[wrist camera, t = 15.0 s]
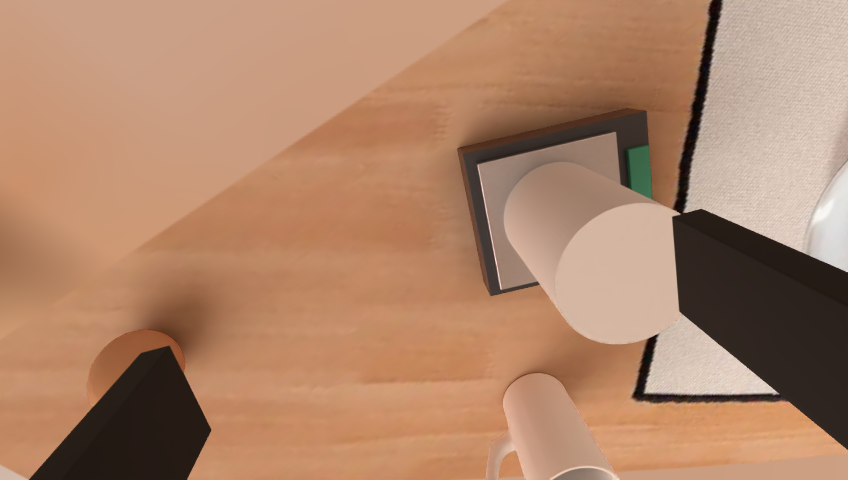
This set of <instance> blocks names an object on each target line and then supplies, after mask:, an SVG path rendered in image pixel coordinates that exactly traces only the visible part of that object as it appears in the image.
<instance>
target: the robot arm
mask: <svg viewBox="0 0 848 480" xmlns="http://www.w3.org/2000/svg"><path fill="white" fill-rule="evenodd" d="M672 225H673V238H674V251H675V264H676V277H677V290H678V303H679V312H681V313H682V314H683V315H684V316H685V317H687V318H688V319H689V320H690V321H692V322H693V323H694V324H695V325H696V326H698V327H699V328H700V329H701V330H702V331H704V332H705V333H706V334H707V335H709V336H710V337H711V338H712V339H713V340H715V341H716V342H717V343H718V344H719V345H721V346H722V347H723V348H724V349H726V350H727V351H728V352H729V353H730V354H732V355H733V356H734V357H735V358H737V359H738V360H739V361H740V362H741V363H743V364H744V365H745V366H746V367H747V368H749V369H750V370H751V371H752V372H754V373H755V374H756V375H757V376H758V377H760V378H761V379H762V380H763V381H765V382H766V383H767V384H768V385H769V386H771V387H772V388H773V389H774V390H775V391H777V392H778V393H779V394H780V395H782V396H783V397H784V398H785V399H786V400H788V401H789V402H790V403H791V404H793V405H794V406H795V407H796V408H797V409H799V410H800V411H801V412H802V413H803V414H805V415H806V416H807V417H808V418H810V419H811V420H812V421H813V422H814V423H816V424H817V425H818V426H819V427H821V428H822V429H823V430H824V431H825V432H827V433H828V434H829V435H830V436H831V437H833V438H834V439H835V440H836V441H838V442H839V443H840V444H841V445H842V446H844V447H845V448H846V449H847V450H848V272H845V271H843V270H841V269H839V268H836V267H834V266H832V265H829V264H827V263H825V262H822V261H820V260H818V259H816V258H813V257H811V256H809V255H806V254H804V253H802V252H800V251H797V250H795V249H793V248H790V247H788V246H786V245H783V244H781V243H779V242H777V241H774V240H772V239H770V238H767V237H765V236H763V235H760V234H758V233H756V232H754V231H751V230H749V229H747V228H744V227H742V226H740V225H738V224H735V223H733V222H731V221H728V220H726V219H724V218H721V217H719V216H717V215H715V214H712V213H710V212H708V211H705V210H703V209H699V210H695V211H691V212H688V213H684V214H680V215H676V216H672ZM210 432H211V428H210V426H209V424H208V422H207V420H206V418H205V416H204V414H203V412H202V410H201V408H200V406H199V404H198V402H197V400H196V398H195V396H194V394H193V392H192V390H191V388H190V386H189V384H188V381H187V379H186V377H185V375H184V373H183V371H182V369H181V367H180V365H179V363H178V361H177V359H176V357H175V355H174V353H173V351H172V349H171V347H170V345H169V346H165V347H161V348H158V349H154V350H150V351H146V352H142V353H140V354H139V356H138V357H137V358H136V359H135V360H134V361H133V362H132V363H131V365H130V366H129V367H128V368H127V369H126V370H125V371H124V373H123V374H122V375H121V376H120V377H119V378H118V379H117V380H116V382H115V383H114V384H113V385H112V386H111V387H110V388H109V390H108V391H107V392H106V393H105V394H104V395H103V396H102V397H101V399H100V400H99V401H98V402H97V403H96V404H95V405H94V407H93V408H92V409H91V410H90V411H89V412H88V413H87V414H86V416H85V417H84V418H83V419H82V420H81V421H80V422H79V424H78V425H77V426H76V427H75V428H74V429H73V430H72V431H71V433H70V434H69V435H68V436H67V437H66V438H65V439H64V441H63V442H62V443H61V444H60V445H59V446H58V447H57V449H56V450H55V451H54V452H53V453H52V454H51V455H50V456H49V458H48V459H47V460H46V461H45V462H44V463H43V464H42V466H41V467H40V468H39V469H38V470H37V471H36V472H35V473H34V475H33V476H32V477H31V478H30V479H29V480H187V478H188V476H189V474H190V472H191V470H192V468H193V466H194V464H195V462H196V460H197V458H198V456H199V454H200V452H201V450H202V448H203V446H204V444H205V442H206V440H207V438H208V436H209V434H210Z"/></svg>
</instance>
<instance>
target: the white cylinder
mask: <svg viewBox="0 0 848 480" xmlns="http://www.w3.org/2000/svg"><path fill="white" fill-rule="evenodd" d="M676 215H680V214H679V213H678V212H676V211H674V210H672V209H670V208H668V207H666V206H664V205H662V204H660V203H658V202H656V201H654V200H651V199H649V198H647V197H645V196H643V195H641V194H639V193H637V192H635V191H633V190H631V189H629V188H627V187H624V186H622V185H620V184H618V183H616V182H614V181H612V180H610V179H608V178H606V177H604V176H602V175H600V174H597V173H595V172H593V171H591V170H589V169H587V168H585V167H583V166H581V165H578V164H575V163H570V162H554V163H549V164H545V165H542V166H540V167H538V168H536V169H534V170H532V171H530V172H529V173H528V174H526V175H525V176H524V177H523V178H522V179H521V180H520V181H519V182H518V183H517V184H516V185H515V187H514V188H513V190H512V191H511V193H510V195H509V197H508V199H507V202H506V205H505V210H504V227H505V232H506V235H507V237H508V239H509V241H510V243H511V245H512V246H513V247H514V249H515V250H516V252H517V253H518V254H519V256H520V257H521V259H522V260H523V261H524V263H525V264H526V266H527V267H528V268H529V270H530V271H531V273H532V274H533V275H534V277H535V278H536V279H537V281H538V282H539V284H540V285H541V286H542V288H543V289H544V291H545V292H546V293H547V295H548V296H549V298H550V299H551V300H552V302H553V303H554V305H555V306H556V307H557V309H558V310H559V311H560V313H561V314H562V316H563V317H564V318H565V320H566V321H567V322H568V324H569V325H570V326H571V327H572V328H573V329H574V330H576V331H577V332H578V333H580V334H581V335H583V336H585V337H587V338H589V339H591V340H594V341H597V342H601V343H606V344H628V343H634V342H638V341H642V340H645V339H647V338H650V337H652V336H654V335H656V334H658V333H660V332H662V331H663V330H665V329H666V328H668V327H669V326H671V325H672V324H673V323H674V322H675V321H677V320H678V319H679V318H680V317H681V316H682V315H683V314H682V313H681V312H679V303H678V290H677V277H676V264H675V251H674V238H673V225H672V216H676Z"/></svg>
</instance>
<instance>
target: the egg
mask: <svg viewBox="0 0 848 480" xmlns="http://www.w3.org/2000/svg"><path fill="white" fill-rule="evenodd" d="M169 345H170V347H171V349H172V351H173V353H174V355H175V357H176V359H177V361H178V363H179V365H180V367H181V369H182V371H183V373H184V370H185V359H184V356H183V353H182V350H181V348H180V347H179V345H178V344H177V342H176V341H174V340H173V339H172V338H171V337H170V336H168V335H166V334H164V333H161V332H159V331H153V330H138V331H133V332H130V333H126V334H124V335H122V336H120V337H118V338H116V339H115V340H113V341H112V342H111V343H109V344H108V345H107V346H106V347H105V348H104V349H103V350H102V351H101V352H100V354H99V355H98V356H97V357H96V359H95V360H94V362H93V364H92V366H91V368H90V371H89V375H88V381H87V395H88V398H89V402H90V404H91V406H92V407H94V405H95V404H96V403H97V402H98V401H99V400H100V399H101V397H102V396H103V395H104V394H105V393H106V392H107V391H108V390H109V388H110V387H111V386H112V385H113V384H114V383H115V382H116V380H117V379H118V378H119V377H120V376H121V375H122V374H123V373H124V371H125V370H126V369H127V368H128V367H129V366H130V365H131V363H132V362H133V361H134V360H135V359H136V358H137V357H138V356H139V354H140V353H142V352H146V351H150V350H154V349H158V348H161V347H165V346H169Z"/></svg>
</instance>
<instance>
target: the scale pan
mask: <svg viewBox="0 0 848 480" xmlns="http://www.w3.org/2000/svg"><path fill="white" fill-rule="evenodd" d="M554 162H570V163H575V164H578V165H581V166H583V167H585V168H587V169H589V170H591V171H593V172H595V173H597V174H600V175H602V176H604V177H606V178H608V179H610V180H612V181H614V182H616V183H618V184H620V173H619V161H618V150H617V138H616V132H614V131H608V132H604V133H599V134H595V135H591V136H587V137H582V138H578V139H574V140H570V141H565V142H561V143H557V144H553V145H548V146H544V147H540V148H536V149H531V150H527V151H523V152H519V153H515V154H510V155H506V156H502V157H498V158H493V159H489V160H485V161H481V162H477V163H476V168H477V173H478V178H479V184H480V189H481V194H482V200H483V205H484V210H485V215H486V221H487V226H488V231H489V237H490V242H491V247H492V253H493V258H494V263H495V269H496V274H497V279H498V284H499V287H500V289H501V290H503V289H507V288H512V287H516V286H520V285H524V284H529V283H533V282H537V279H536V278H535V277H534V275H533V274H532V273H531V271H530V270H529V268H528V267H527V266H526V264H525V263H524V261H523V260H522V259H521V257H520V256H519V254H518V253H517V252H516V250H515V249H514V247H513V246H512V245H511V243H510V241H509V239H508V237H507V235H506V232H505V227H504V210H505V205H506V202H507V199H508V197H509V195H510V193H511V191H512V190H513V188H514V187H515V185H516V184H517V183H518V182H519V181H520V180H521V179H522V178H523V177H524V176H525V175H526V174H528V173H529V172H530V171H532V170H534V169H536V168H538V167H540V166H542V165H545V164H549V163H554ZM620 185H621V184H620Z"/></svg>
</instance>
